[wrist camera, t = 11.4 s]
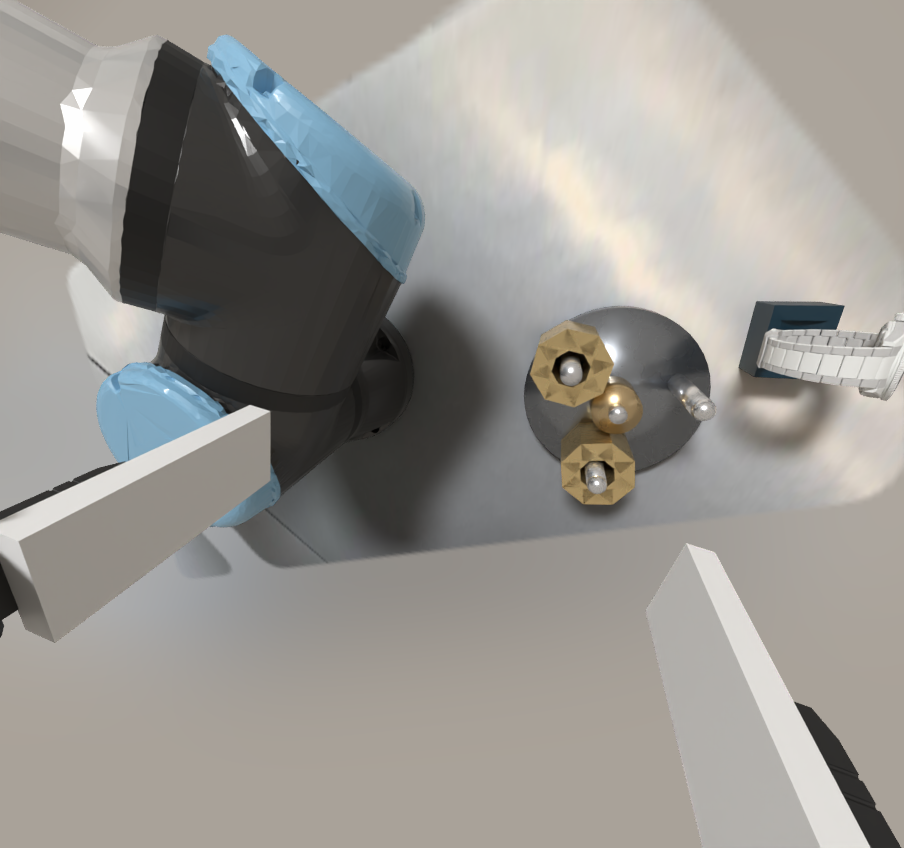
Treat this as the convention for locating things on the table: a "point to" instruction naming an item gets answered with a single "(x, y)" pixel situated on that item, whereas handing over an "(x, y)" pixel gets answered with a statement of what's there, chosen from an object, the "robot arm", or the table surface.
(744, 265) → the table surface
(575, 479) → the planet gear
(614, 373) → the carrier
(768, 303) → the watch
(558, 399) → the planet gear
